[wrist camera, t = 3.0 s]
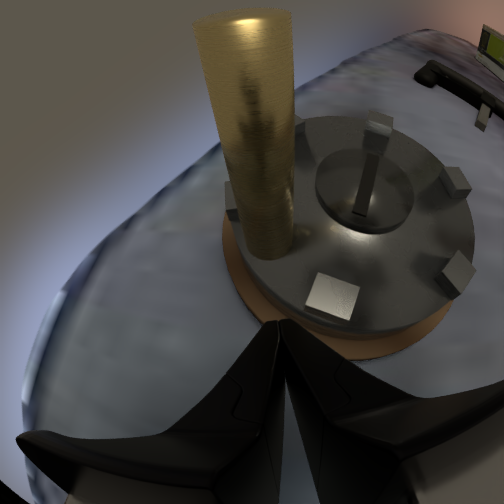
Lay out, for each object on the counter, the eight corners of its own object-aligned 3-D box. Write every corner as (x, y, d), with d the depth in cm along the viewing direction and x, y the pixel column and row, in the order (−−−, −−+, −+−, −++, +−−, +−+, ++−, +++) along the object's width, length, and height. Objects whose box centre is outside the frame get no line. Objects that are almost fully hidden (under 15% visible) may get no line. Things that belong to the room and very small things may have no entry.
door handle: (518, 146, 20) (518, 110, 24) (405, 73, 29) (430, 55, 32) (509, 161, 23) (512, 122, 27) (402, 90, 32) (428, 68, 35)
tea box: (519, 91, 36) (532, 55, 23) (502, 82, 37) (514, 42, 24) (493, 66, 43) (501, 33, 30) (474, 58, 44) (482, 22, 31)
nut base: (429, 392, 13) (440, 391, 12) (181, 298, 18) (173, 290, 17) (453, 191, 20) (459, 181, 19) (280, 134, 25) (279, 122, 24)
